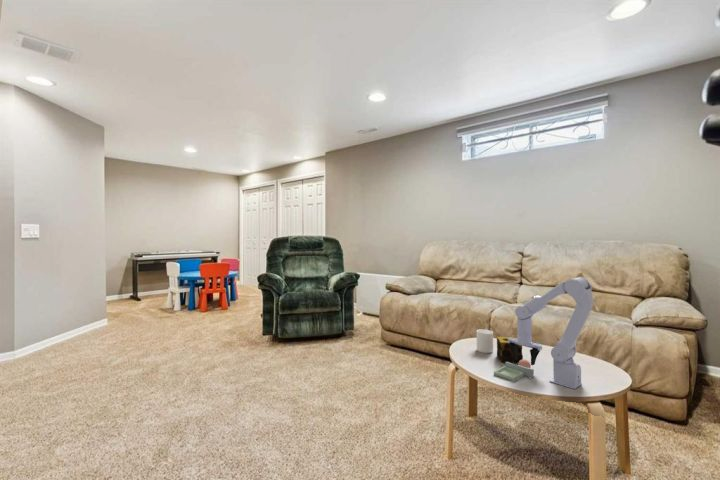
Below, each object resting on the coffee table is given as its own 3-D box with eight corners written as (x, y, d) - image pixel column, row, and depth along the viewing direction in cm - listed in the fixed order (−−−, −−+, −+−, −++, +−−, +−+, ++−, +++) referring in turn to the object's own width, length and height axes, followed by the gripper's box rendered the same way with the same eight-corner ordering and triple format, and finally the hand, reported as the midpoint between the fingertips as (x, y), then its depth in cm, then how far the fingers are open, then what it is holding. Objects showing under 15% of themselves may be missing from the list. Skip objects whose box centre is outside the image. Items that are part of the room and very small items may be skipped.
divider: (534, 377, 145) (534, 369, 145) (531, 378, 144) (531, 370, 144) (507, 368, 154) (507, 361, 154) (504, 370, 153) (504, 362, 153)
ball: (532, 371, 152) (532, 359, 152) (527, 373, 149) (527, 362, 149) (521, 367, 156) (521, 356, 156) (516, 370, 153) (516, 359, 153)
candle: (523, 364, 160) (523, 343, 160) (500, 363, 162) (500, 342, 162) (517, 357, 170) (517, 337, 170) (496, 355, 172) (496, 336, 172)
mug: (485, 345, 188) (485, 327, 188) (499, 349, 181) (499, 330, 181) (473, 350, 180) (473, 331, 180) (488, 354, 174) (488, 334, 173)
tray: (524, 375, 147) (524, 372, 147) (514, 381, 141) (514, 377, 141) (504, 369, 154) (504, 366, 154) (493, 374, 148) (493, 371, 148)
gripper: (545, 334, 149) (545, 364, 149) (512, 327, 160) (512, 355, 160) (538, 337, 145) (538, 368, 145) (505, 329, 156) (505, 359, 156)
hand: (524, 362), depth 152 cm, fingers open, 7 cm apart
